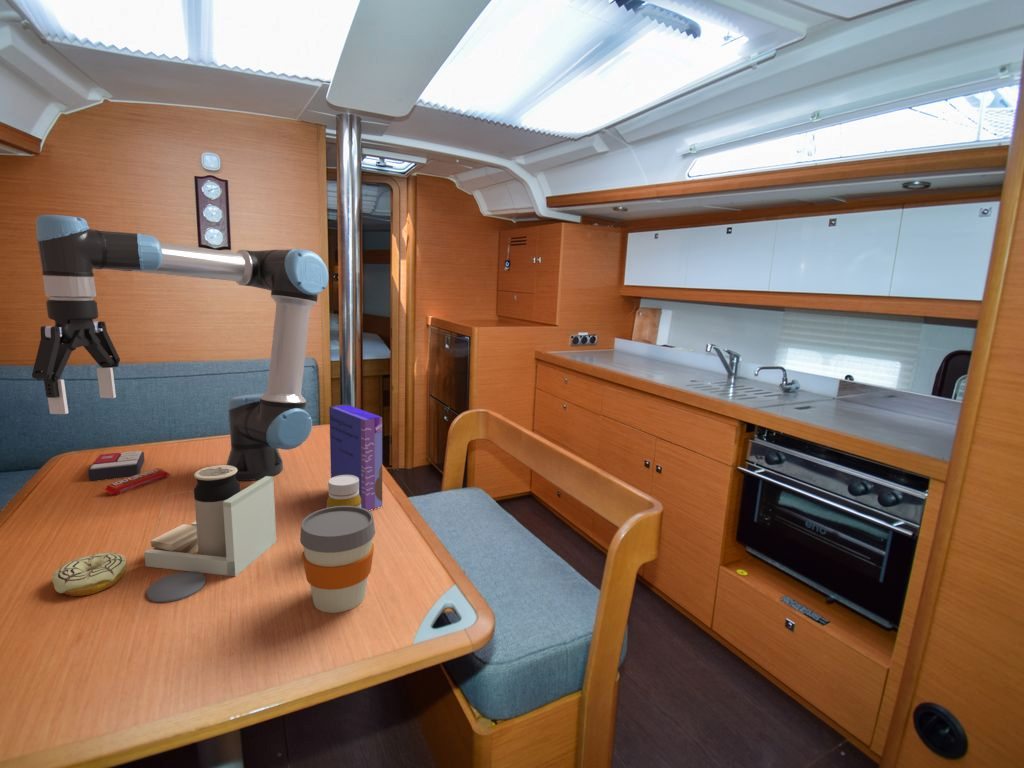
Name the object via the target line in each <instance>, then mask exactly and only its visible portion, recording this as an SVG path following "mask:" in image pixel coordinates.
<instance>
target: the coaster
mask: <svg viewBox="0 0 1024 768" xmlns="http://www.w3.org/2000/svg"><path fill="white" fill-rule="evenodd" d="M205 585H206V576H205V575H204V573H200V572H191V571H181V572H177V573H172V574H169V575H166V576H164V577H162V578H159V579H157V580H156V581H154V582H153V583H151V584H150V585H149V587H148V588H147V589H146V598H147V600H149V601H150V602H151V601H152V602H154V603H171V602H176V601H181V600H183V599H184V600H185V599H186V598H189V597H190V596H193V595H195V594H197V593H199V591H201V590H202V589H203V588H204V587H205Z"/></svg>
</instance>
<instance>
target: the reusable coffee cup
mask: <svg viewBox="0 0 1024 768" xmlns="http://www.w3.org/2000/svg"><path fill="white" fill-rule="evenodd" d="M300 526H301V528H300V536H299V540H300V544H301V545H302V547H303V551H302V554H301V555H302V556H301V557H302V562H303V566H304V567H303V568H304V573H305V576H306V577H305V578H306V582H307V583H308V584H309V586H310V590H311V596H312V602H313V603H312V604H313V606H314V607H315V608H316V609H317V610H319V611H321V612H324V613H327V614H328V613H330V614H332V613H333V614H335V613H336V614H337V613H338V614H339V613H343V612H347V611H350V610H353V609H354V608H357V607H358V606H359V605H361V603H362V602H363V601H364V600H365V598H366V594H367V586H368V579H369V578H368V577H369V575H370V573H371V571H372V566H373V556H374V549H375V546H374V543H373V538H374V537H375V534H376V530H375V529H376V527H375V521H374V514H373V513H372V511H368V510H366V509H364V508H361V507H355V506H335V507H329V508H327V507H326V508H325V507H324V508H322V509H317V510H316V511H313V512H312V513H309V514H308V515H307V516H305V518H303V520H302V521H301V525H300Z"/></svg>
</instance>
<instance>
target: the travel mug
mask: <svg viewBox="0 0 1024 768" xmlns="http://www.w3.org/2000/svg"><path fill="white" fill-rule="evenodd" d="M236 473H237V468H236V467H234V466H229V465H226V464H222V465H221V464H219V465H213V466H207V467H203V468H201V469H198V470H197V471H196V472H195V473H194V474H193V477H194V478H195V480H196V485H195V487H194V489H193V499H194V512H195V513H194V514H195V521H196V527H197V540H198V550H197V551H198V552H197V554H199V555H208V556H217V557H226V542H225V527H224V511H223V502H224V501H225V500H227V499H229V498H230V497H232V496H234V495H235V494H237V493H239V492H240V491H241V485H240V481H239V480H237V479H236V478H235V477H236Z"/></svg>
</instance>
